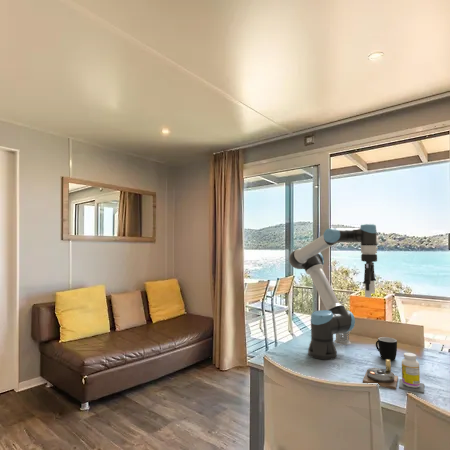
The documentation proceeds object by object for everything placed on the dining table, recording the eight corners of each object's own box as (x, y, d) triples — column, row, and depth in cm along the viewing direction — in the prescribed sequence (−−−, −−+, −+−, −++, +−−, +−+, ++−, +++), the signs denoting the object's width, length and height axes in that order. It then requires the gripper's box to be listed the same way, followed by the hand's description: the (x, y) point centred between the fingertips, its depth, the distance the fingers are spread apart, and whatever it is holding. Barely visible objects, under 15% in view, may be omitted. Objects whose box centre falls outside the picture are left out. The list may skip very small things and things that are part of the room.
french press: (330, 340, 202) (329, 300, 203) (346, 338, 205) (345, 299, 206) (340, 345, 192) (339, 303, 194) (356, 343, 196) (355, 302, 197)
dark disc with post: (361, 374, 147) (361, 358, 147) (380, 370, 150) (380, 355, 151) (380, 384, 136) (379, 367, 137) (400, 380, 140) (399, 364, 140)
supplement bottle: (403, 380, 142) (402, 350, 142) (421, 384, 138) (419, 353, 138) (401, 385, 136) (400, 354, 137) (419, 389, 132) (417, 358, 133)
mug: (401, 360, 167) (400, 340, 168) (389, 363, 164) (388, 342, 164) (382, 353, 178) (381, 334, 179) (370, 355, 175) (369, 336, 175)
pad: (398, 388, 136) (398, 386, 136) (400, 380, 143) (400, 378, 143) (423, 393, 131) (423, 391, 131) (423, 385, 138) (423, 383, 138)
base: (362, 382, 141) (362, 379, 141) (367, 372, 152) (367, 369, 152) (395, 389, 134) (395, 386, 134) (398, 378, 145) (398, 375, 145)
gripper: (373, 254, 153) (374, 299, 152) (379, 253, 174) (381, 292, 173) (356, 254, 157) (358, 298, 156) (365, 252, 178) (366, 291, 177)
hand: (370, 295), depth 164 cm, fingers open, 13 cm apart
